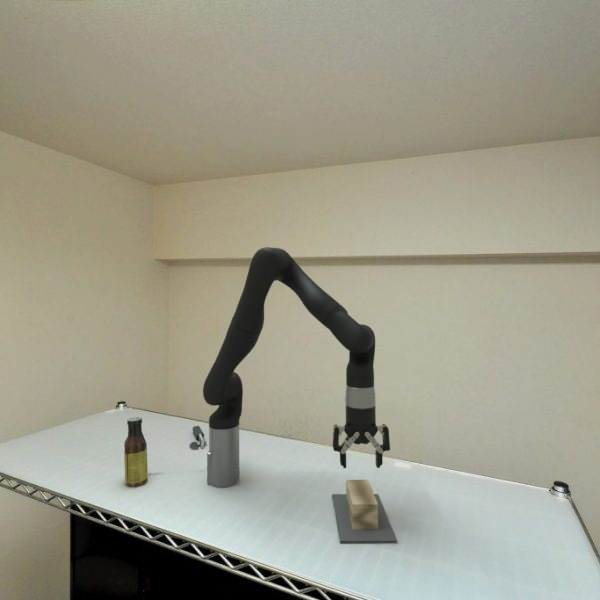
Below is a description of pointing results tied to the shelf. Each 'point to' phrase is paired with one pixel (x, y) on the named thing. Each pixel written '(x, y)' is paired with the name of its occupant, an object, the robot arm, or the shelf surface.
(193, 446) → the can opener
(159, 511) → the shelf surface
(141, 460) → the sauce bottle
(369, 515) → the maple block
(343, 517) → the picture tile
